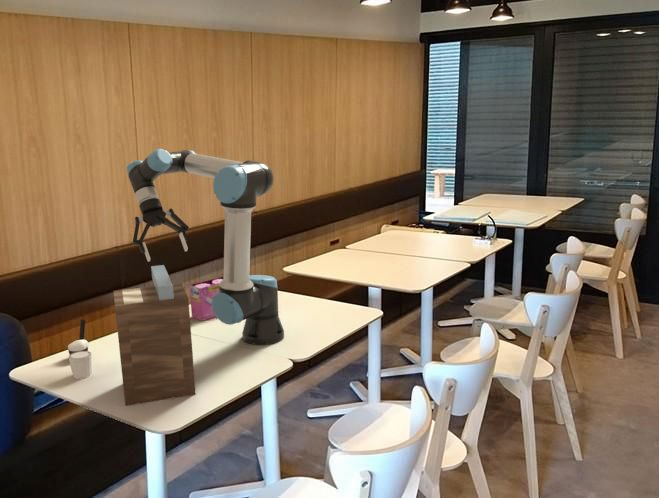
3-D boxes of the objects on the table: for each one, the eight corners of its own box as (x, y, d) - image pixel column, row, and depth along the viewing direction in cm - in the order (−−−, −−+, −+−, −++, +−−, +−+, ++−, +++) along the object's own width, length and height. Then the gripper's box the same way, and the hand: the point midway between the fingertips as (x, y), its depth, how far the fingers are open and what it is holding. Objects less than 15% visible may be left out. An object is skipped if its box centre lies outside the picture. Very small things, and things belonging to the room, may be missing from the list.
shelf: (123, 383, 202) (113, 290, 196) (188, 373, 209) (181, 282, 202) (125, 405, 188) (115, 305, 181) (195, 394, 194) (188, 297, 187)
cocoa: (74, 364, 219) (70, 331, 216) (62, 360, 222) (58, 328, 219) (97, 354, 227) (93, 322, 223) (85, 350, 230) (81, 318, 226)
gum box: (238, 303, 280) (237, 272, 277) (250, 306, 274) (248, 275, 271) (191, 316, 263) (188, 284, 260) (202, 321, 258) (200, 288, 255)
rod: (152, 278, 208) (151, 266, 207) (165, 277, 209) (164, 264, 208) (159, 300, 185) (158, 286, 184) (173, 298, 186) (172, 285, 186)
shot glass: (74, 371, 213) (72, 351, 211) (96, 370, 213) (93, 349, 212) (68, 380, 206) (65, 359, 204) (90, 378, 207) (88, 358, 205)
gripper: (180, 198, 244) (199, 249, 240) (113, 214, 234) (132, 268, 229) (183, 189, 238) (203, 242, 233) (114, 205, 227) (133, 261, 223)
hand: (168, 255), depth 231 cm, fingers open, 13 cm apart
